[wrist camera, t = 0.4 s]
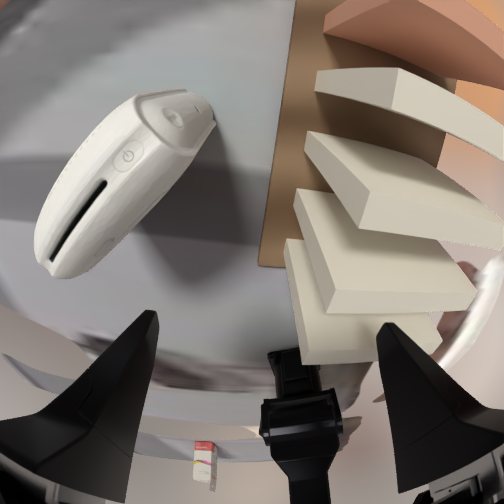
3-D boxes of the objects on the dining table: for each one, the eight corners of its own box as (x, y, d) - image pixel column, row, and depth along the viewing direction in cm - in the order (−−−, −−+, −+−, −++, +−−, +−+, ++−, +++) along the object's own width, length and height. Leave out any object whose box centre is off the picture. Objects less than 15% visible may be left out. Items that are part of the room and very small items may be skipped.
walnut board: (390, 269, 26) (393, 274, 26) (257, 259, 25) (257, 265, 24) (455, 42, 13) (461, 42, 12) (298, -21, 11) (300, -24, 11)
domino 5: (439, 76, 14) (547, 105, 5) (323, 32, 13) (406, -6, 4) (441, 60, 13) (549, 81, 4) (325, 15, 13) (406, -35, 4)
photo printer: (188, 78, 16) (107, 81, 6) (227, 120, 18) (201, 178, 8) (100, 170, 20) (6, 260, 10) (135, 203, 22) (64, 312, 12)
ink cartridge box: (194, 440, 60) (191, 488, 48) (212, 441, 60) (210, 490, 48) (201, 447, 65) (199, 491, 53) (218, 448, 65) (216, 492, 53)
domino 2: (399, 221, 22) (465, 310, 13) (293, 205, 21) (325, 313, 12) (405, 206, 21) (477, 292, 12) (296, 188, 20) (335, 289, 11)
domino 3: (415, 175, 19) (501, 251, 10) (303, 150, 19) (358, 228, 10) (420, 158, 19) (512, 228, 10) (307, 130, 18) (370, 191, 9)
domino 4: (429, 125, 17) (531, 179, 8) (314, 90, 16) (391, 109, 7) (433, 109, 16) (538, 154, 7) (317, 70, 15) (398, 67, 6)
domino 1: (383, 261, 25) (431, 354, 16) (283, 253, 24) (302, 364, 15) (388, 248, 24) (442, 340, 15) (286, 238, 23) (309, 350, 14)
